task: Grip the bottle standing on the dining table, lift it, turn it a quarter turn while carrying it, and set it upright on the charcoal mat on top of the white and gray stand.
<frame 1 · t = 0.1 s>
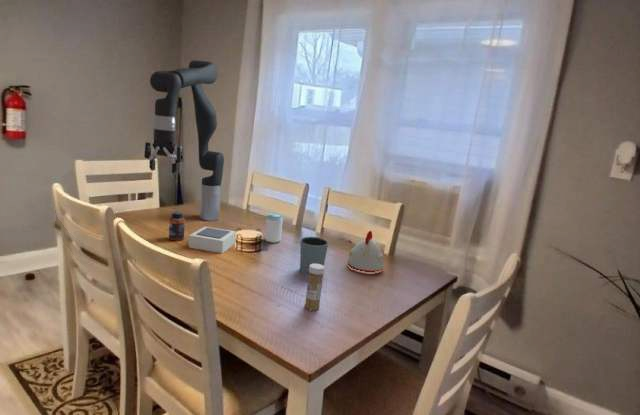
hand: (163, 171, 158), 29 cm above the table, tool pointing down, fingers open, 8 cm apart
can: (272, 241, 185), on the table
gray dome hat: (364, 268, 165), on the table
sprinkles bottle: (312, 307, 126), on the table
white and gray stand: (212, 245, 170), on the table
gray plant pot: (310, 272, 154), on the table
supplement bottle: (176, 239, 173), on the table
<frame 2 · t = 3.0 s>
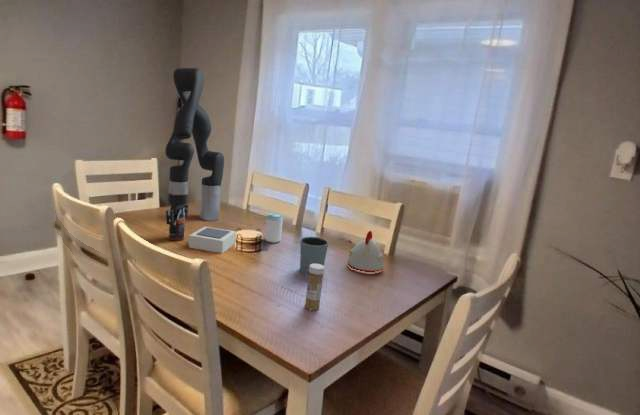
hand: (176, 231, 172), 3 cm above the table, tool pointing down, fingers closed on supplement bottle, 6 cm apart
supplement bottle: (176, 239, 173), on the table, touching gripper
everything else where it was.
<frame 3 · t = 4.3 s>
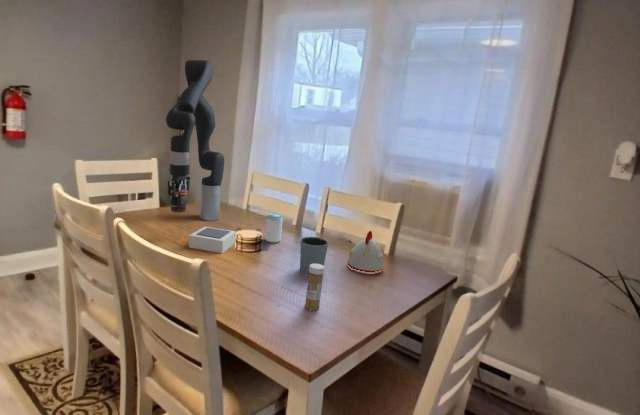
hand: (178, 203, 169), 15 cm above the table, tool pointing down, fingers closed on supplement bottle, 6 cm apart
supplement bottle: (178, 211, 170), point 12 cm above the table, touching gripper
everything else where it was.
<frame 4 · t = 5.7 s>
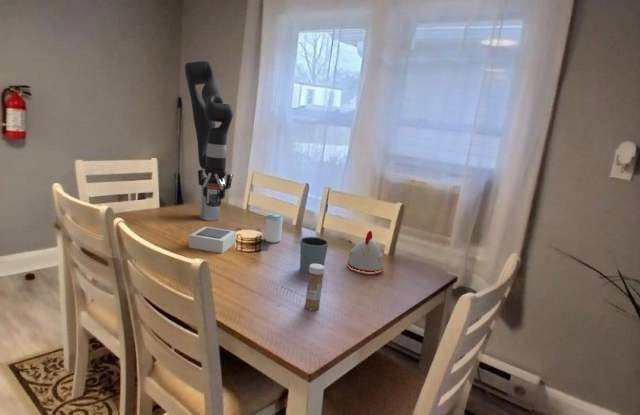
hand: (213, 197, 166), 20 cm above the table, tool pointing down, fingers closed on supplement bottle, 6 cm apart
supplement bottle: (213, 205, 166), point 16 cm above the table, touching gripper
everything else where it was.
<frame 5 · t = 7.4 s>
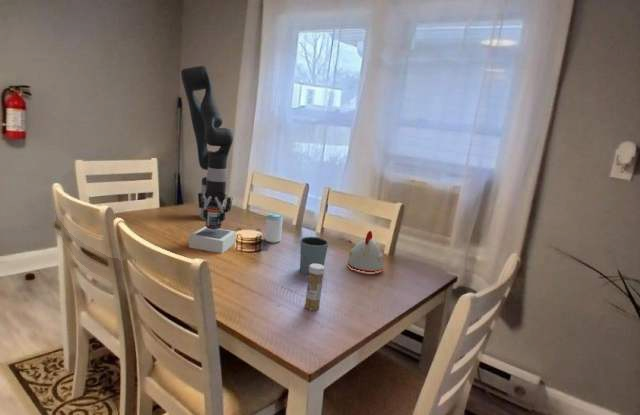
hand: (213, 219, 168), 11 cm above the table, tool pointing down, fingers closed on supplement bottle, 6 cm apart
supplement bottle: (213, 227, 169), point 7 cm above the table, touching gripper
everything else where it was.
when the fingers open (9 cm above the table, at t = 8.6 s): supplement bottle stays where it is, resting on white and gray stand.
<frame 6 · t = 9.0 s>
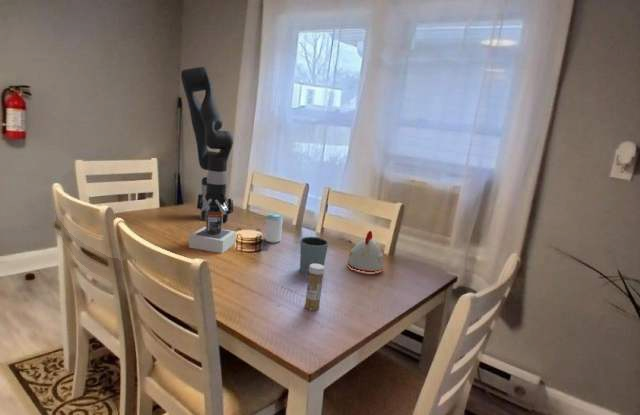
hand: (214, 221, 168), 10 cm above the table, tool pointing down, fingers open, 8 cm apart
supplement bottle: (213, 232, 169), point 5 cm above the table, touching white and gray stand
everything else where it was.
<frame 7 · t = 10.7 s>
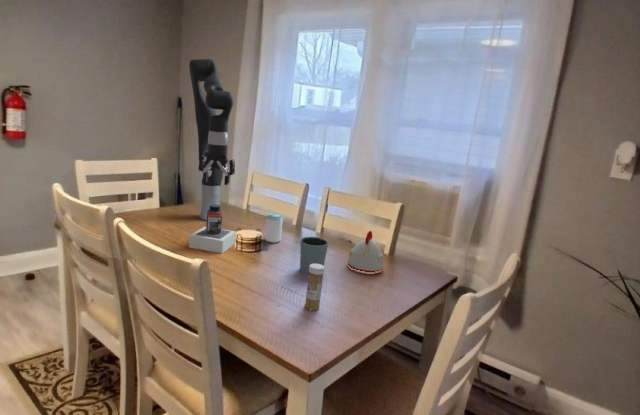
hand: (216, 183, 168), 25 cm above the table, tool pointing down, fingers open, 8 cm apart
nothing on the table moved.
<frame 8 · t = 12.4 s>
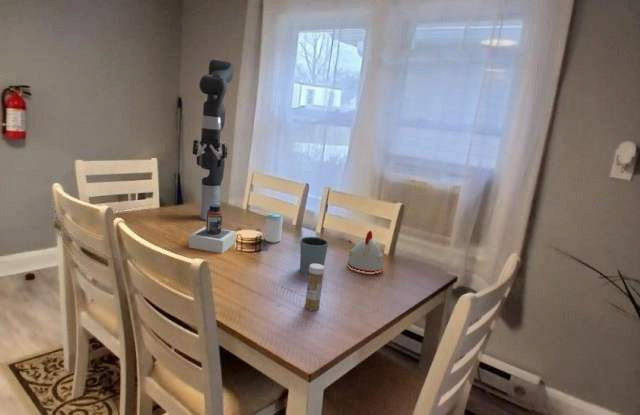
hand: (209, 166, 174), 30 cm above the table, tool pointing down, fingers open, 8 cm apart
nothing on the table moved.
at the end: supplement bottle inside the target area on the white and gray stand (0.1 cm from its centre), point 5.2 cm above the white and gray stand's base; supplement bottle tilted 0°; the gripper is holding nothing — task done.
